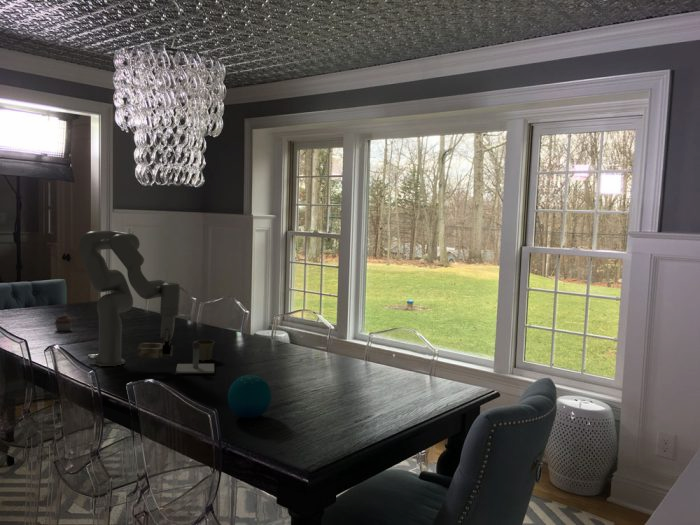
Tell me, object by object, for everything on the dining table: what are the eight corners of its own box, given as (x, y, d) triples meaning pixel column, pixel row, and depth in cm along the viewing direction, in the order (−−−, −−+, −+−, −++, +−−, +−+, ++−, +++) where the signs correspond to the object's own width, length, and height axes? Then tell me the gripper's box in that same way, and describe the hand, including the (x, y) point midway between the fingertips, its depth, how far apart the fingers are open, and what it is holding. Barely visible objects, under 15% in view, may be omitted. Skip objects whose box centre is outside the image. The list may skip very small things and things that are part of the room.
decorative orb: (272, 411, 219) (274, 370, 217) (268, 425, 204) (269, 382, 203) (230, 409, 218) (232, 368, 217) (223, 424, 203) (224, 380, 202)
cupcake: (55, 329, 336) (55, 311, 335) (73, 329, 338) (73, 311, 338) (52, 332, 327) (52, 314, 326) (71, 332, 330) (71, 314, 329)
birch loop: (137, 357, 256) (137, 348, 255) (139, 351, 265) (140, 342, 265) (171, 358, 259) (171, 349, 259) (172, 352, 269) (173, 343, 268)
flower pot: (193, 362, 280) (194, 344, 279) (193, 357, 289) (194, 339, 288) (214, 362, 283) (215, 344, 282) (213, 357, 292) (214, 339, 291)
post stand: (175, 375, 258) (176, 344, 257) (177, 367, 271) (178, 337, 270) (214, 374, 262) (215, 344, 261) (213, 366, 274) (214, 338, 273)
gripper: (161, 307, 268) (159, 347, 270) (158, 314, 253) (155, 357, 254) (179, 308, 270) (176, 348, 272) (177, 315, 254) (174, 358, 256)
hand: (166, 352), depth 263 cm, fingers closed on birch loop, 3 cm apart
